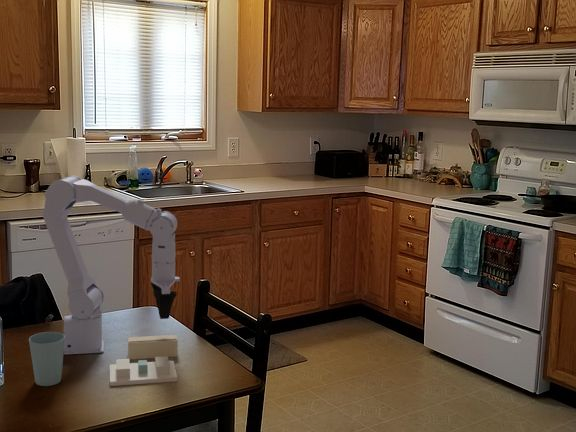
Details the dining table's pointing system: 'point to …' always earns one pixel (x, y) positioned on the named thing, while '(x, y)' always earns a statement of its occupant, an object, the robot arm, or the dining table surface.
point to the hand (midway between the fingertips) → (163, 313)
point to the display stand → (142, 372)
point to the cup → (47, 357)
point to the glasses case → (152, 346)
